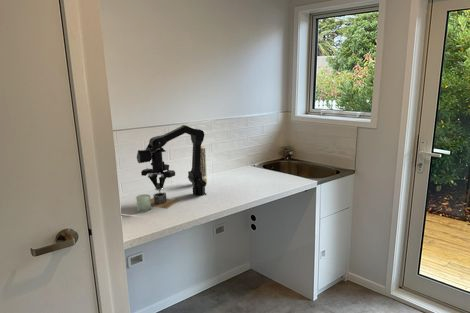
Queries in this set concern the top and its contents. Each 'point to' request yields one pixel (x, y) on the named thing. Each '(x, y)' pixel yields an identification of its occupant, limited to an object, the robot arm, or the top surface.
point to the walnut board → (166, 205)
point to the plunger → (158, 188)
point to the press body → (160, 198)
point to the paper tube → (203, 164)
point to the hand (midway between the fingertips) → (159, 188)
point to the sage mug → (143, 203)
